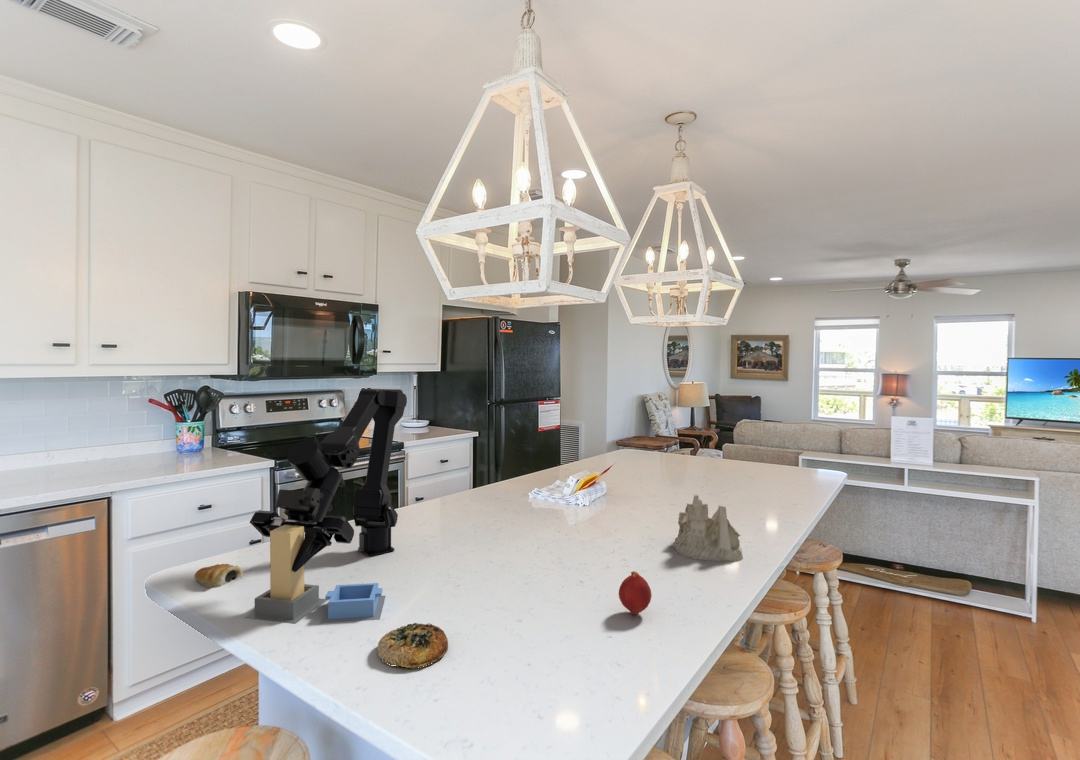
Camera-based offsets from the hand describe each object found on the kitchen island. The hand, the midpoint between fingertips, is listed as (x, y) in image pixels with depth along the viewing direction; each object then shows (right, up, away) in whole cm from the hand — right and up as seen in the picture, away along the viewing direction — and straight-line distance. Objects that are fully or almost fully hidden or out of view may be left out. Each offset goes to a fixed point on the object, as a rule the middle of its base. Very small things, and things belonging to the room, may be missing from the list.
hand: (282, 569), depth 100 cm
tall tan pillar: (0, -6, +2) cm, 6 cm away
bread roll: (+26, -9, -12) cm, 30 cm away
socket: (0, -8, +2) cm, 8 cm away
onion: (+63, -9, +2) cm, 64 cm away
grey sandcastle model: (+87, -8, +38) cm, 96 cm away
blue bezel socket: (+12, -8, +2) cm, 15 cm away
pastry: (-20, -8, +15) cm, 26 cm away
